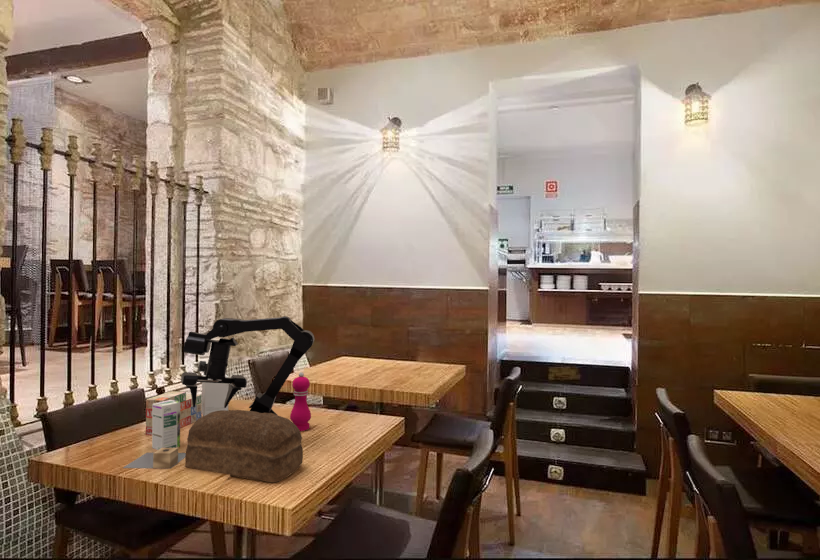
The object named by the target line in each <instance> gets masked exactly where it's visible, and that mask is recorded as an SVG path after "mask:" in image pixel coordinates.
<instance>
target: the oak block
mask: <svg viewBox="0 0 820 560" xmlns="http://www.w3.org/2000/svg"><path fill="white" fill-rule="evenodd" d="M152 453H153V468H152V469H158V468H171V467H172V466H173V467H175V466H176V465H177V464H179V463H178V453H179V447H176V448H161V449H159V450H156V451H155V452H152ZM176 463H177V464H176ZM175 464H176V465H175ZM174 465H175V466H174ZM173 467H172V468H173ZM172 468H171V469H172Z"/></svg>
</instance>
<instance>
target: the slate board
mask: <svg viewBox="0 0 820 560" xmlns="http://www.w3.org/2000/svg"><path fill="white" fill-rule="evenodd" d="M153 453H154V452H146V453H144V454H142V455H141V456H139V457H137V458H136V459H134V460H132V461H131V462H129V463H127V464H126V465H124V466H123V467H122V469H154V468H153ZM185 456H186V452H178V463H176V464H175V465H174V466H172V467H171V468H157V469H159V470H160V469H161V470H162V469H167V470H168V469H169V470H171V469H173V468H174V467H175V466H176V465H178V464H179V463H180V462H182V461H183V460H184V459H185Z"/></svg>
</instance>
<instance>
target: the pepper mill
mask: <svg viewBox="0 0 820 560" xmlns="http://www.w3.org/2000/svg"><path fill="white" fill-rule="evenodd" d="M310 385H311V384H310V380H309V378H308V377H306V376H305V374H304V372H302V371H300V372H299V373H298V376H297V377H295V378H294V379H293V381H292V388H293V389H294V390H293V396H294V403H293V404H294V405H292V406H293V407H292V408H291V412H290V416H289V420H290V421H291V422H293V423H294V424H295V425H296V426H297V428H298V429H299V430H300V432H306V431H308V430H309V429H310V420H311V418H312V413H311V409H310V408H309V406H308V401H307V400H308V399H307V398H308V397H307V396H308V395H309V390H308V389H309V387H310ZM307 429H308V430H307ZM305 430H306V431H305Z"/></svg>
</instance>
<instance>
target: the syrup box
mask: <svg viewBox="0 0 820 560" xmlns="http://www.w3.org/2000/svg"><path fill="white" fill-rule="evenodd" d="M151 439H152V441H151V443H152V445H151V448H152V449H155V450H156V451H158V450H159V449H161V448H180V446H181V428H180V402H178V401H175V400H168V401H163V402H158V403H153V404H152V435H151Z"/></svg>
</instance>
